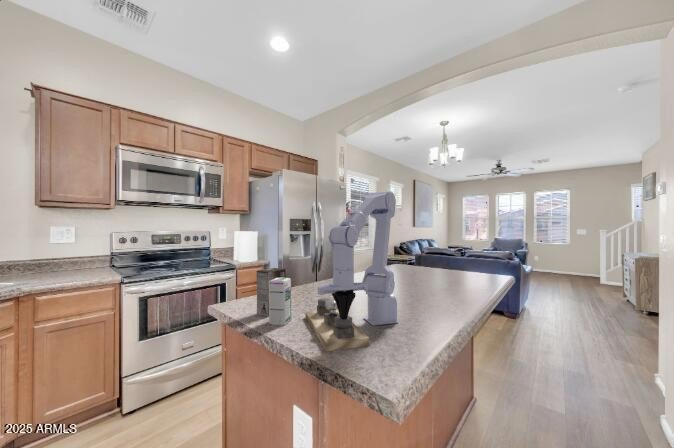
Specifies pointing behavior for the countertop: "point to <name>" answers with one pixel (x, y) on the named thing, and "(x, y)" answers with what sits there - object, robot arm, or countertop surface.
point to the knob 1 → (322, 302)
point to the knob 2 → (343, 322)
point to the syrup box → (279, 301)
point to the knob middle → (331, 306)
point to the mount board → (335, 331)
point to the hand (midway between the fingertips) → (343, 318)
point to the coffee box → (266, 288)
